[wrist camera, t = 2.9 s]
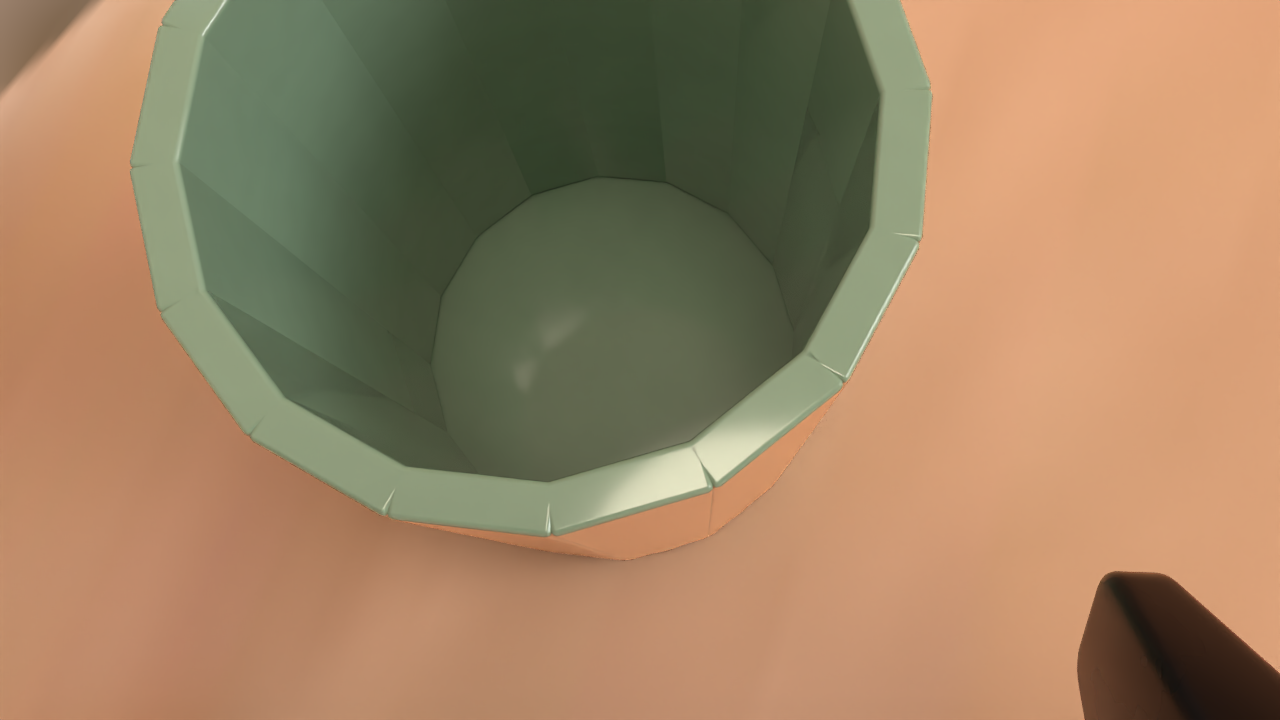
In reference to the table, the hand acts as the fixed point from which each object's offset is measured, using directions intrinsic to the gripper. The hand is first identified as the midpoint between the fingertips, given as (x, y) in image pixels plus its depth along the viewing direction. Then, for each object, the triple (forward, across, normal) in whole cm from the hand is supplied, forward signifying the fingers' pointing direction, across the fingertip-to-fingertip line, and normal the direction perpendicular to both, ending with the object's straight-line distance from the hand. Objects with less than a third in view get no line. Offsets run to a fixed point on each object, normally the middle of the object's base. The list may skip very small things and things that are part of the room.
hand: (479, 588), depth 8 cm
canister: (+10, 0, +5) cm, 11 cm away
